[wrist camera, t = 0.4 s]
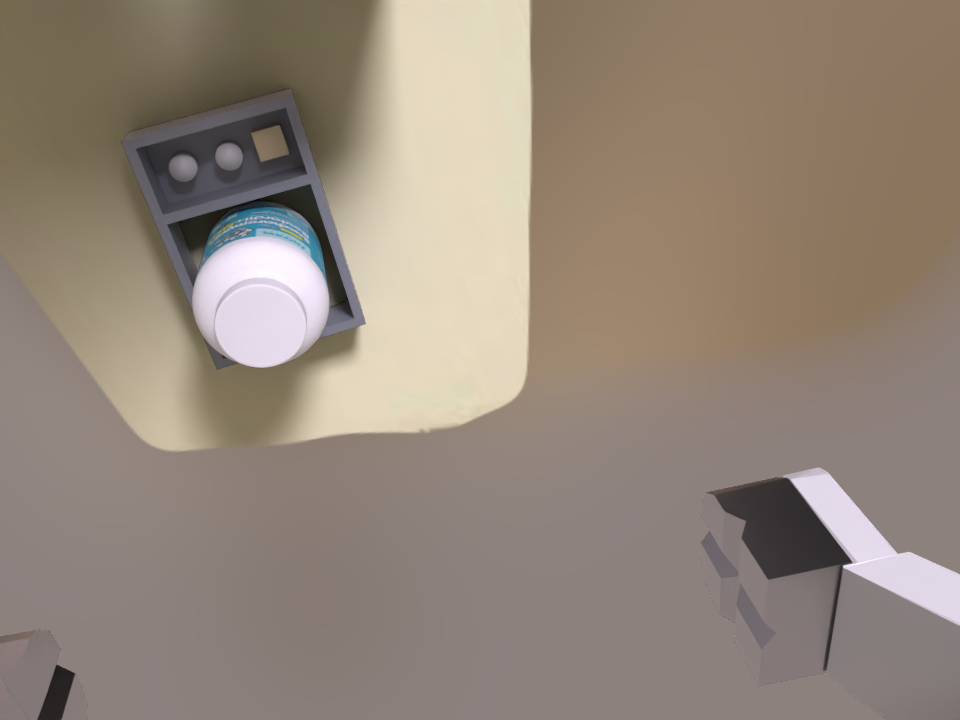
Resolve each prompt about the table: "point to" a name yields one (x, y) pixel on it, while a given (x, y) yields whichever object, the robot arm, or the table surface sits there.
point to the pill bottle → (261, 285)
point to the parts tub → (231, 180)
